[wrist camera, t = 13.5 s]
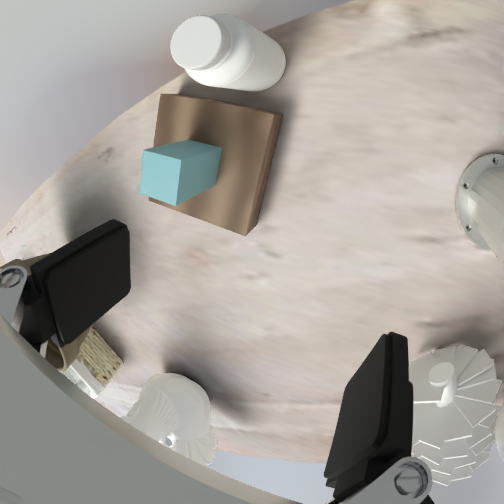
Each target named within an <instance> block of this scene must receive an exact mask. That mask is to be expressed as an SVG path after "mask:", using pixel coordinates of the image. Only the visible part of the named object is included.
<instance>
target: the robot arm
mask: <svg viewBox="0 0 504 504" xmlns="http://www.w3.org/2000/svg"><path fill="white" fill-rule="evenodd" d="M493 158H494V161H493ZM464 183H466V185H465V186H463V184H464ZM455 205H456V213H457V218H458V221H459V223H460V226H461V228H462V229H463V231H464V233H465V234H466V235H467V237H468V238H469V239H470V240H471V241H472V242H474V243H475V244H476V245H478V246H480V247H482V248H486V249H491V250H492V251H493V253H494V254H495V255H496V257H497V258H498V260H499V261H500V262H501V264H502V265H503V267H504V155H502V154H495V153H493V154H486V155H484V156H481V157H479V158H478V159H476V160H475V161H473V162H472V163H471V164H470V165H469V166H468V167H467V168H466V170H465V172H464V173H463V175H462V177H461V179H460V181H459V184H458V187H457V191H456V200H455ZM467 225H468V227H466V226H467ZM30 271H31V275H29V276H28V274H27V270H26V269H25V268H24V267H21V266H17V265H15V266H9V267H6V268H4V269H2V270H1V271H0V504H302V503H299V502H295V501H292V500H288V499H285V498H283V497H280V496H277V495H274V494H271V493H268V492H265V491H262V490H260V489H257V488H255V487H252V486H249V485H247V484H244V483H242V482H239V481H237V480H234V479H232V478H230V477H227V476H225V475H223V474H220V473H218V472H216V471H214V470H211V469H209V468H207V467H205V466H203V465H201V464H199V463H197V462H195V461H193V460H191V459H189V458H187V457H185V456H183V455H181V454H179V453H177V452H175V451H173V450H172V449H170V448H168V447H166V446H164V445H163V444H161V443H159V442H158V441H156V440H154V439H152V438H151V437H149V436H147V435H146V434H144V433H142V432H141V431H139V430H138V429H136V428H134V427H133V426H131V425H130V424H128V423H127V422H125V421H124V420H122V419H121V418H119V417H118V416H116V415H115V414H113V413H112V412H111V411H109V410H108V409H106V408H105V407H104V406H102V405H101V404H99V403H98V402H97V401H95V400H94V399H93V398H91V397H90V396H89V395H88V394H86V393H85V392H84V391H82V390H81V389H80V388H79V387H77V386H76V385H75V384H74V383H73V382H71V381H70V380H69V379H67V377H65V376H64V375H63V374H62V373H61V372H59V371H58V370H57V369H56V368H55V367H54V366H53V365H52V364H50V363H49V362H48V361H47V360H46V359H45V354H46V348H47V341H48V339H49V338H50V337H51V339H52V341H53V342H54V343H55V344H56V345H57V346H58V347H60V348H63V347H64V346H65V345H66V344H70V343H72V342H73V341H74V340H75V339H76V338H77V337H79V336H80V335H81V334H82V333H83V332H84V331H85V330H87V329H88V328H89V327H90V326H91V325H92V324H93V323H95V322H96V321H97V320H98V319H99V318H100V317H102V316H103V315H104V314H105V313H106V312H107V311H109V310H110V309H111V308H112V307H113V306H114V305H116V304H117V303H118V302H119V301H120V300H122V299H123V298H124V297H125V296H126V295H127V294H128V293H129V291H130V288H131V280H130V234H129V230H128V228H127V225H125V224H124V223H121V222H119V221H117V220H114V219H112V220H110V221H108V222H106V223H104V224H102V225H100V226H98V227H97V228H95V229H93V230H91V231H89V232H87V233H86V234H84V235H82V236H80V237H78V238H77V239H75V240H73V241H71V242H70V243H68V244H66V245H64V246H63V247H61V248H59V249H58V250H56V251H54V252H53V253H51V254H49V255H48V256H46V257H44V258H43V259H41V260H39V261H38V262H36V263H34V264H33V265H31V266H30ZM412 436H413V384H412V382H410V381H409V361H408V340H407V337H405V336H402V335H400V334H397V333H394V332H390V333H389V334H388V335H386V334H383V335H382V336H381V337H380V339H379V340H378V342H377V343H376V345H375V346H374V348H373V349H372V351H371V352H370V353H369V355H368V356H367V358H366V359H365V361H364V362H363V363H362V365H361V366H360V367H359V369H358V370H357V372H356V373H355V374H354V376H353V377H352V378H351V380H350V381H349V382H348V384H347V386H346V388H345V391H344V395H343V400H342V404H341V409H340V413H339V418H338V422H337V426H336V430H335V434H334V438H333V442H332V446H331V450H330V454H329V457H328V461H327V465H326V468H325V471H324V477H325V478H328V479H327V482H326V486H328V487H332V488H335V490H334V493H333V497H334V499H332V500H330V501H329V502H327V503H326V504H434V502H433V501H432V500H431V498H430V497H429V495H428V493H429V492H430V490H431V487H432V474H431V470H430V468H429V467H428V465H427V464H426V463H425V462H424V461H423V460H421V459H419V458H416V457H411V452H412ZM495 439H496V445H497V449H498V451H499V454H500V456H501V459H502V460H503V462H504V403H503V405H502V407H501V409H500V411H499V413H498V416H497V420H496V425H495Z"/></svg>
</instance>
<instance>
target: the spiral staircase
mask: <svg viewBox="0 0 504 504" xmlns="http://www.w3.org/2000/svg"><path fill="white" fill-rule="evenodd" d="M410 363H411V365H410V366H409V381H410V382H412V384H413V436H412V452H411V454H414V457H416V458H419V459H421V460H423V461H424V462H425V463H426V464H427V465H428V467H429V468H430V470H431V474H432V481H435V482H437V483H440V484H442V485H445V486H448V485H449V484H450V483H451V481H455V480H460V479H465V478H469V477H471V476H472V471H474V470H475V469H476V468H478V467H479V466H480V465H482V464H483V463H484V462H485V461H487V460H488V459H489V458H490V456H489V454H488V452H489V450H490V449H491V447H492V445H493V443H494V441H495V434H493V431H494V428H495V425H496V420H497V416H498V415H497V414H498V412H499V411H500V409H501V406H498V405H496V395H497V393H498V391H499V389H500V386H501V384H502V380H498V379H497V377H496V370H495V363H494V358H493V359H491V358H490V357H489V355H488V354H487V352H486V351H485V349H483V350H481V351H478V349H475V348H472V347H469V346H466V345H462V344H460V345H459V346H458V347H450V348H443V349H436V350H434V354H433V353H432V352H431V353H429V354H427V355H425V356H423V357H421V358H419V359H417V360H415V361H413V362H410Z"/></svg>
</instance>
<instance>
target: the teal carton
mask: <svg viewBox="0 0 504 504" xmlns="http://www.w3.org/2000/svg"><path fill="white" fill-rule="evenodd" d="M221 151H222V148H220V147H217V146H213V145H209V144H205V143H201V142H196V141H192V140H184V141H179V142H175V143H170V144H166V145H162V146H157V147H153V148H149V149H145V150H143V156H142V168H141V182H140V194H143V195H146V196H149V197H152V198H154V199H157V200H160V201H163V202H166V203H168V204H171V205H174V206H177V205H179V204H181V203H182V202H184V201H186V200H188V199H190V198H192V197H194V196H195V195H197V194H199V193H201V192H203V191H205V190H207V189H209V188H211V187H213V186H215V184H216V179H217V173H218V167H219V162H220V156H221Z"/></svg>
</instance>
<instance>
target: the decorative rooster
mask: <svg viewBox="0 0 504 504" xmlns="http://www.w3.org/2000/svg"><path fill="white" fill-rule="evenodd" d="M119 418H121V419H122V420H124V421H125V422H127V423H128V424H130V425H131V426H133V427H134V428H136V429H138V430H139V431H141V432H142V433H144V434H146V435H147V436H149V437H151V438H152V439H154V440H156V441H158V442H159V443H161V444H163V445H164V446H166V447H168V448H170V449H172V450H173V451H175V452H177V453H179V454H181V455H183V456H185V457H187V458H189V459H191V460H193V461H195V462H197V463H199V464H201V465H203V466H205V467H206V466H207V464H210V463H212V462H213V461H214V457H215V455H216V453H215V451H216V450H217V445H218V440H217V438H216V437H215V436H214V435H215V430H214V428H213V427H212V426H211V425H210V420H211V406H210V401H209V398H208V396H207V394H206V392H205V390H204V389H203V388H202V387H201V386H200V385H198V384H197V383H195V382H194V381H192V380H190V379H188V378H187V377H185V376H182V375H179V374H174V373H164V374H157V375H155V376H153V377H151V378H150V379H149V380H148V381H147V382H146V383H145V384H144V386H143V387H142V389H141V392H140V395H139V398H138V401H137V402H136V403H135V404H134V405H133V407H132V409H131V411H129V412H128V414H127V415H126V416H123V417H119ZM167 437H168V438H170V439H171V440H172V445H171V446H167V445H166V443H165V439H166V438H167Z"/></svg>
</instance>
